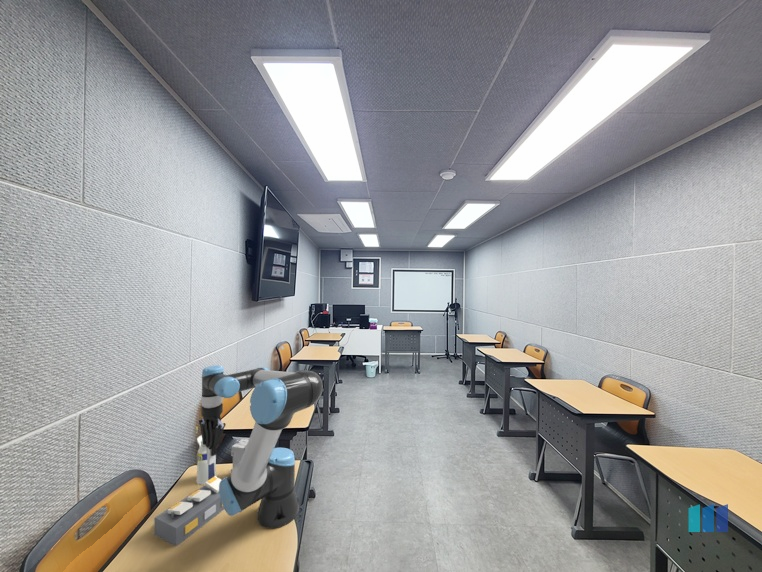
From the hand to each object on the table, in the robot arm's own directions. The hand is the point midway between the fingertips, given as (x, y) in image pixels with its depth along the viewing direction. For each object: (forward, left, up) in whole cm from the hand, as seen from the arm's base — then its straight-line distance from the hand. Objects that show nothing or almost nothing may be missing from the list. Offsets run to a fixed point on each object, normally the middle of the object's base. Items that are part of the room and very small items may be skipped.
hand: (211, 462), depth 118 cm
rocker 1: (-3, +14, -8) cm, 16 cm away
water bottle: (+15, -9, -16) cm, 24 cm away
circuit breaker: (-2, -18, -16) cm, 24 cm away
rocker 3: (-3, 0, -8) cm, 8 cm away
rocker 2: (-3, +7, -8) cm, 11 cm away
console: (-3, +7, -16) cm, 17 cm away
